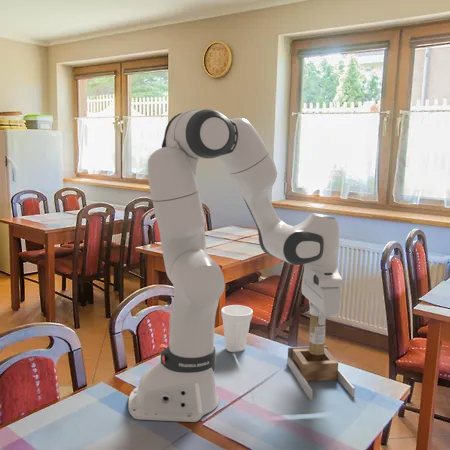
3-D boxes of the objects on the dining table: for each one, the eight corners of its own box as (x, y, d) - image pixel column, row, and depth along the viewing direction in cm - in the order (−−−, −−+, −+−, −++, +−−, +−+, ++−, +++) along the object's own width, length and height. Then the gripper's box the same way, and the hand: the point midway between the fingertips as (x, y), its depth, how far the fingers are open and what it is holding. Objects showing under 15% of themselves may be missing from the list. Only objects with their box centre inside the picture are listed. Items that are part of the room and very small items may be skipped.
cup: (255, 355, 149) (256, 315, 147) (223, 357, 147) (224, 316, 145) (246, 342, 159) (248, 304, 156) (217, 344, 156) (218, 305, 154)
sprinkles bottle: (307, 349, 139) (308, 304, 136) (322, 348, 139) (324, 303, 136) (310, 356, 134) (311, 310, 132) (326, 355, 134) (328, 309, 132)
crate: (302, 381, 132) (303, 364, 131) (291, 365, 141) (292, 348, 140) (337, 379, 133) (338, 363, 132) (324, 363, 143) (325, 347, 142)
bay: (309, 402, 123) (311, 380, 122) (287, 366, 142) (288, 347, 141) (354, 399, 125) (355, 378, 124) (325, 364, 144) (327, 345, 143)
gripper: (297, 262, 142) (295, 307, 144) (322, 283, 122) (319, 335, 124) (317, 262, 143) (315, 307, 145) (345, 282, 123) (342, 333, 125)
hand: (317, 320), depth 135 cm, fingers closed on sprinkles bottle, 4 cm apart
